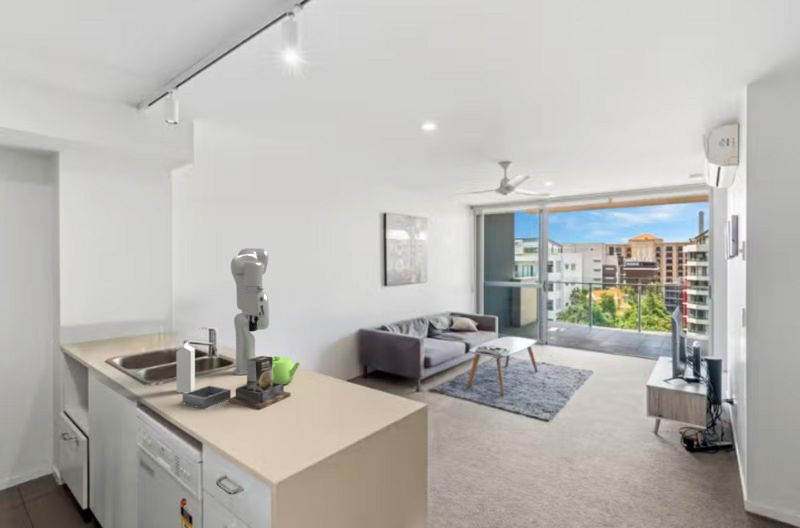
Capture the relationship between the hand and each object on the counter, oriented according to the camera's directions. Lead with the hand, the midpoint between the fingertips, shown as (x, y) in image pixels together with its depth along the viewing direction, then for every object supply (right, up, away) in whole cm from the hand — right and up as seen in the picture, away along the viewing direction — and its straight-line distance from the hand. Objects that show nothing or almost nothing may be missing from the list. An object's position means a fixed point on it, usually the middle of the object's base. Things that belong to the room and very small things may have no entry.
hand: (252, 330), depth 180 cm
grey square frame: (-16, -29, -8) cm, 34 cm away
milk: (-32, -29, +5) cm, 43 cm away
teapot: (+7, -29, +18) cm, 35 cm away
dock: (+5, -29, -5) cm, 29 cm away
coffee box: (+5, -27, -5) cm, 28 cm away
